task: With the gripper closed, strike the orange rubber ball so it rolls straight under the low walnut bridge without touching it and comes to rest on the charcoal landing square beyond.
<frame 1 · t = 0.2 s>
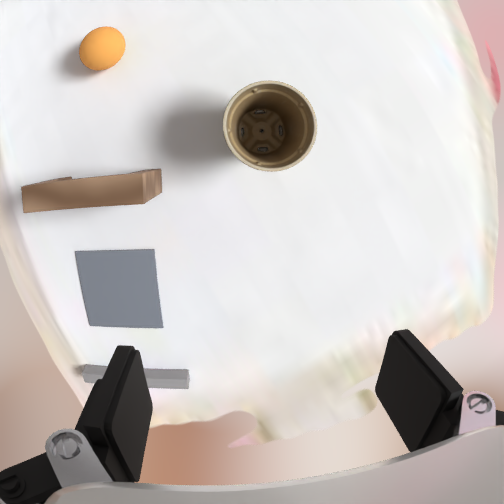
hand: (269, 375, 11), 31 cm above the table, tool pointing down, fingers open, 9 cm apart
ball: (102, 48, 29), on the table
bridge: (107, 184, 37), on the table
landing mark: (118, 290, 42), on the table
stopper: (135, 372, 46), on the table
flower pot: (260, 131, 37), on the table
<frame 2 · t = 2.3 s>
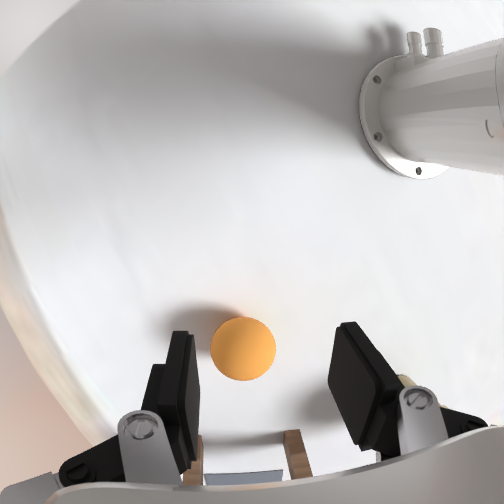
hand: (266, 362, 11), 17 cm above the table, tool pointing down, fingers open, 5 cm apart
ball: (243, 348, 28), on the table
bridge: (243, 440, 36), on the table
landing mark: (244, 489, 41), on the table
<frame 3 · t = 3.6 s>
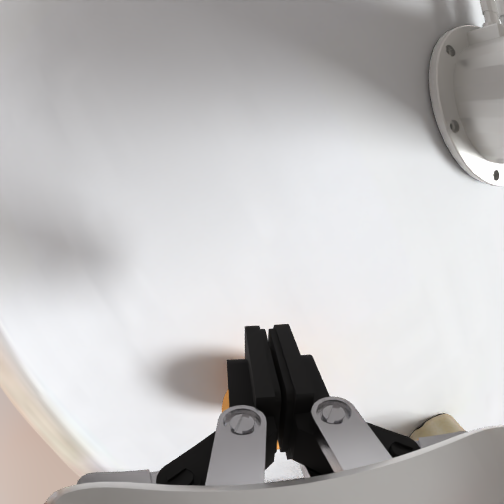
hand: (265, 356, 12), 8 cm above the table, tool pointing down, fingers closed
flower pot: (428, 430, 28), on the table
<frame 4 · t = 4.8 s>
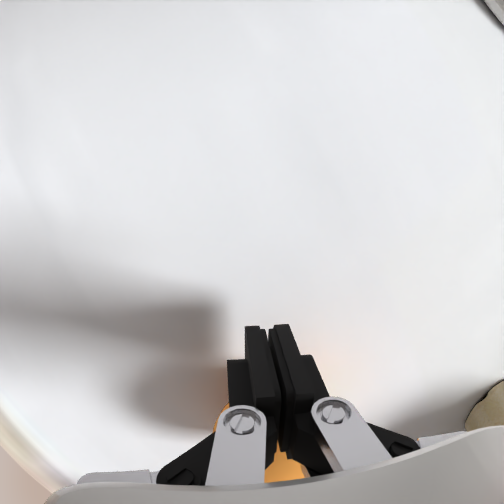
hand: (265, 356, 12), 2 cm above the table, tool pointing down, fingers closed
ball: (277, 442, 12), on the table
flower pot: (488, 403, 19), on the table
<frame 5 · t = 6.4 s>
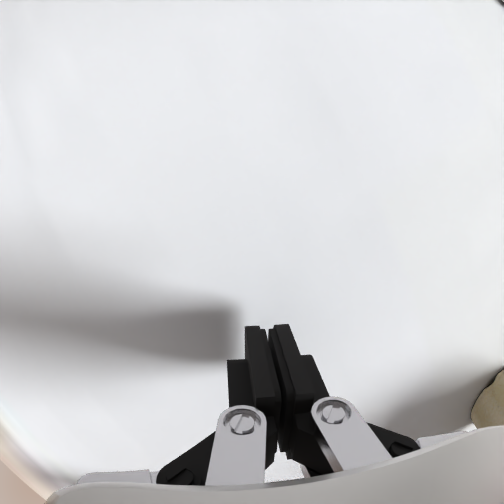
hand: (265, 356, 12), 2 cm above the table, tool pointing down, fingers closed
flower pot: (494, 391, 18), on the table
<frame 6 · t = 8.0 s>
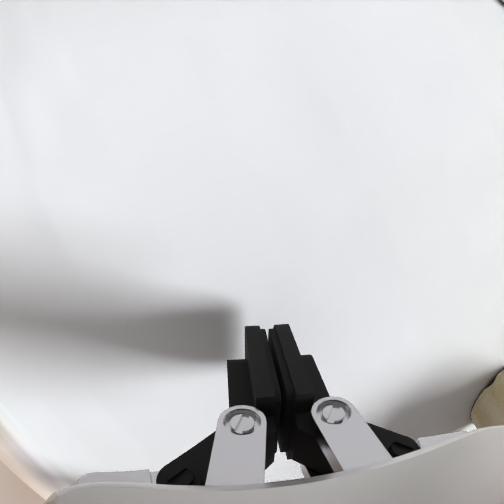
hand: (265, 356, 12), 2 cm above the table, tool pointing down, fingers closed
flower pot: (494, 391, 18), on the table
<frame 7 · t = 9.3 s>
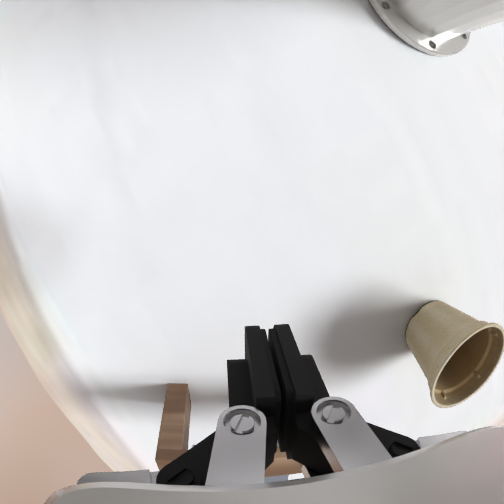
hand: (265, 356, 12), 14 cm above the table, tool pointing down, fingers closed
bridge: (243, 393, 29), on the table
flower pot: (426, 325, 30), on the table
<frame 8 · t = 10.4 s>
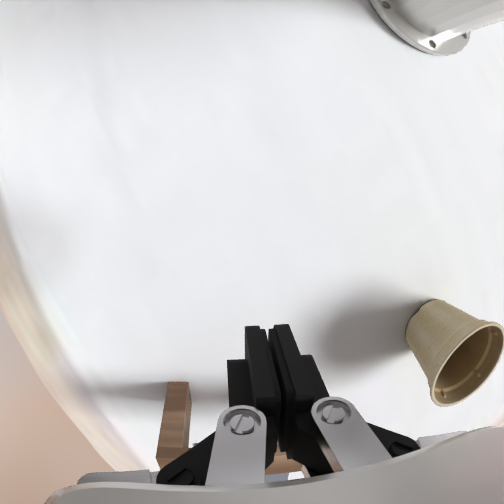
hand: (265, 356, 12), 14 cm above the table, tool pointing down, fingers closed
bridge: (243, 391, 30), on the table
flower pot: (426, 323, 30), on the table
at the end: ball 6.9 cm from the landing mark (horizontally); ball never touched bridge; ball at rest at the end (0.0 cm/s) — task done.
